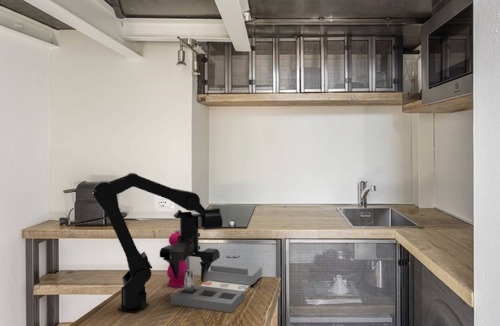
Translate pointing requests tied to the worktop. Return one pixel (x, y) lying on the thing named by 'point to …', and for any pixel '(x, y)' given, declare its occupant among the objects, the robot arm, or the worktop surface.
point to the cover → (234, 273)
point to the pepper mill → (182, 266)
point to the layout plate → (226, 285)
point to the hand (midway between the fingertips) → (189, 280)
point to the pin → (189, 281)
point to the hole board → (209, 298)
